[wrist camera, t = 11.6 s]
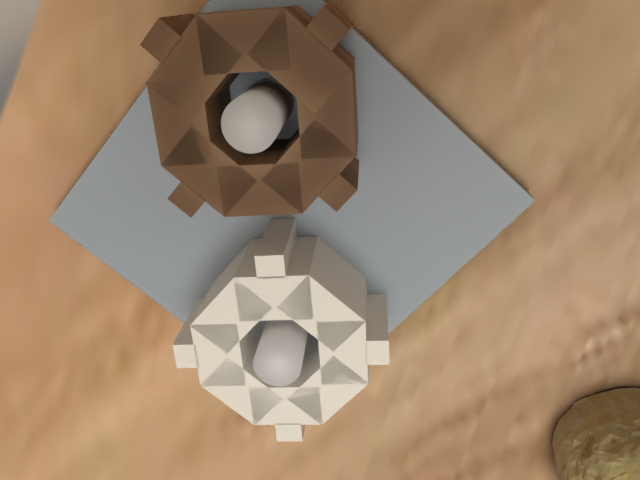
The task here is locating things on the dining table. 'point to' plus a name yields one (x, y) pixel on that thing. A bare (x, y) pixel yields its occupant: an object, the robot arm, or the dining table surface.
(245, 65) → the walnut gear
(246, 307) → the gear
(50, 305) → the dining table surface
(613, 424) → the decorative item
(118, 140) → the gear board
